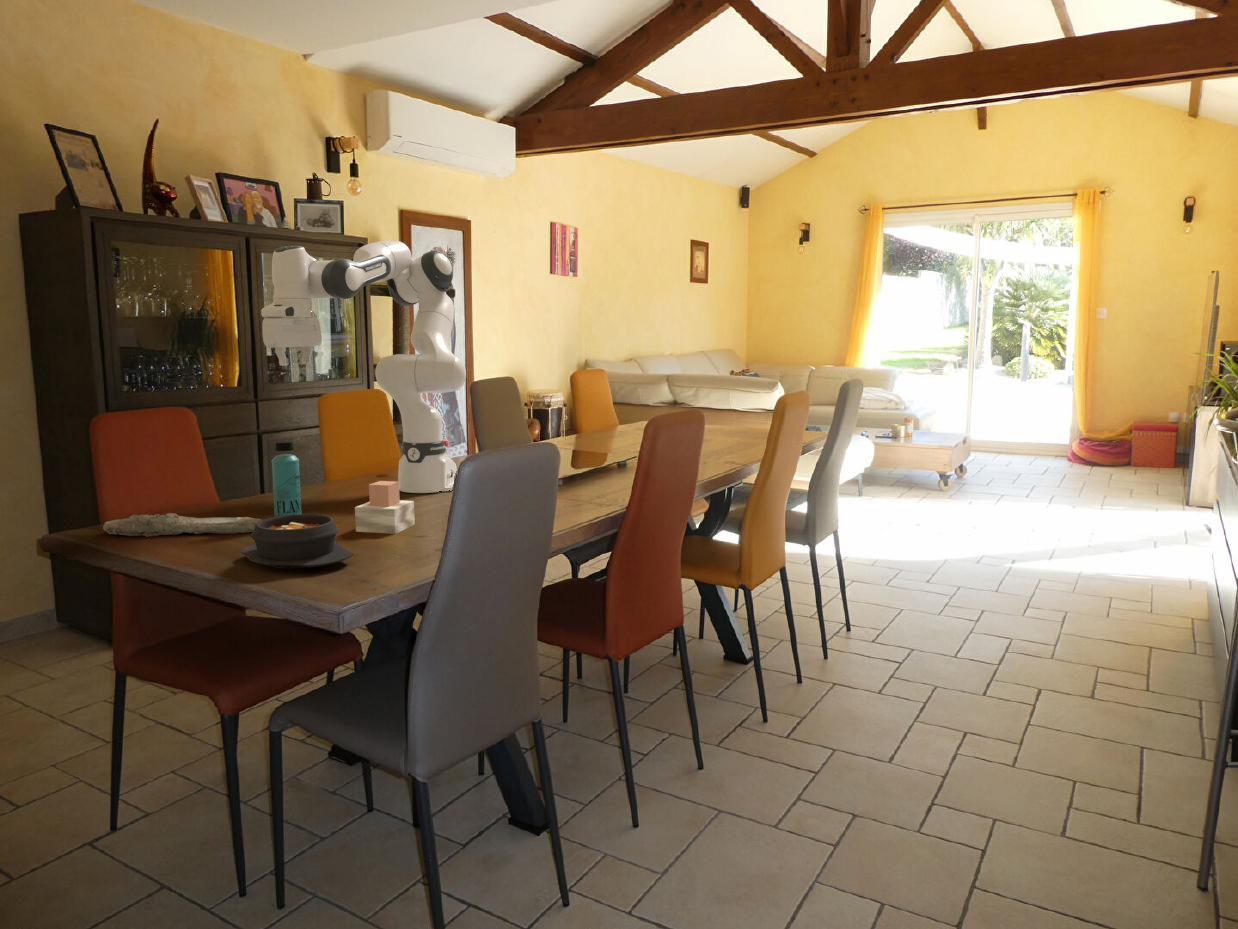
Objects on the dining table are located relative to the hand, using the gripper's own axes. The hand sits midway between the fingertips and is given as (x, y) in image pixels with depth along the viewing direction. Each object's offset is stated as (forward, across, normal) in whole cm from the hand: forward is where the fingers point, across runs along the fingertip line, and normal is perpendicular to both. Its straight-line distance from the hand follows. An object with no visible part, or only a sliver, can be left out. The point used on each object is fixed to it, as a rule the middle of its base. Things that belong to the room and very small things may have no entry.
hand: (295, 364), depth 232 cm
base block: (+37, +17, +34) cm, 53 cm away
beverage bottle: (+37, +19, +9) cm, 43 cm away
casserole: (+38, +49, +32) cm, 69 cm away
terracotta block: (+31, +17, +34) cm, 49 cm away
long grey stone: (+38, +33, -9) cm, 51 cm away
